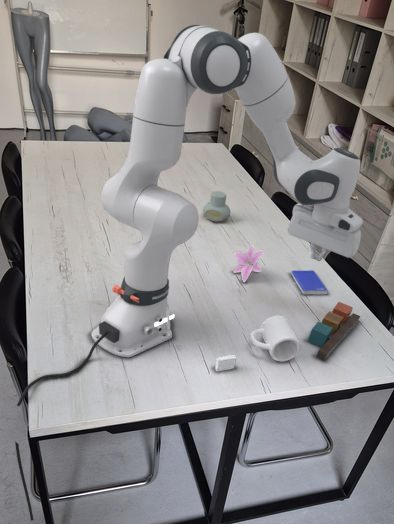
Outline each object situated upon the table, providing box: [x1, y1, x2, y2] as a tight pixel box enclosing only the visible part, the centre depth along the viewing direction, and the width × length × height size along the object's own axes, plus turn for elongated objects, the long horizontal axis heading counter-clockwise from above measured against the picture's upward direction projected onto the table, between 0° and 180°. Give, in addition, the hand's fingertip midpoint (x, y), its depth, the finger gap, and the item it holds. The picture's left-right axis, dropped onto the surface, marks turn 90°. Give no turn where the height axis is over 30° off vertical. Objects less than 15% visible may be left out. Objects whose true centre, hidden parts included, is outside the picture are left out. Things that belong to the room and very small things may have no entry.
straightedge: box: [316, 312, 361, 362], centre depth 138 cm, size 24×2×2 cm, turn 143°
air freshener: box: [202, 190, 232, 223], centre depth 190 cm, size 11×8×10 cm
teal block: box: [307, 321, 333, 348], centre depth 136 cm, size 4×4×4 cm
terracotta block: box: [331, 301, 354, 325], centre depth 145 cm, size 4×4×4 cm
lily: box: [233, 243, 266, 284], centre depth 159 cm, size 12×12×10 cm
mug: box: [249, 315, 301, 362], centre depth 129 cm, size 12×10×8 cm
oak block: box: [321, 311, 344, 337], centre depth 140 cm, size 4×4×4 cm
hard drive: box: [290, 270, 328, 295], centre depth 160 cm, size 2×8×12 cm
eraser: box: [214, 354, 237, 372], centre depth 123 cm, size 1×5×4 cm, turn 111°
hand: (316, 259), depth 139 cm, fingers closed
